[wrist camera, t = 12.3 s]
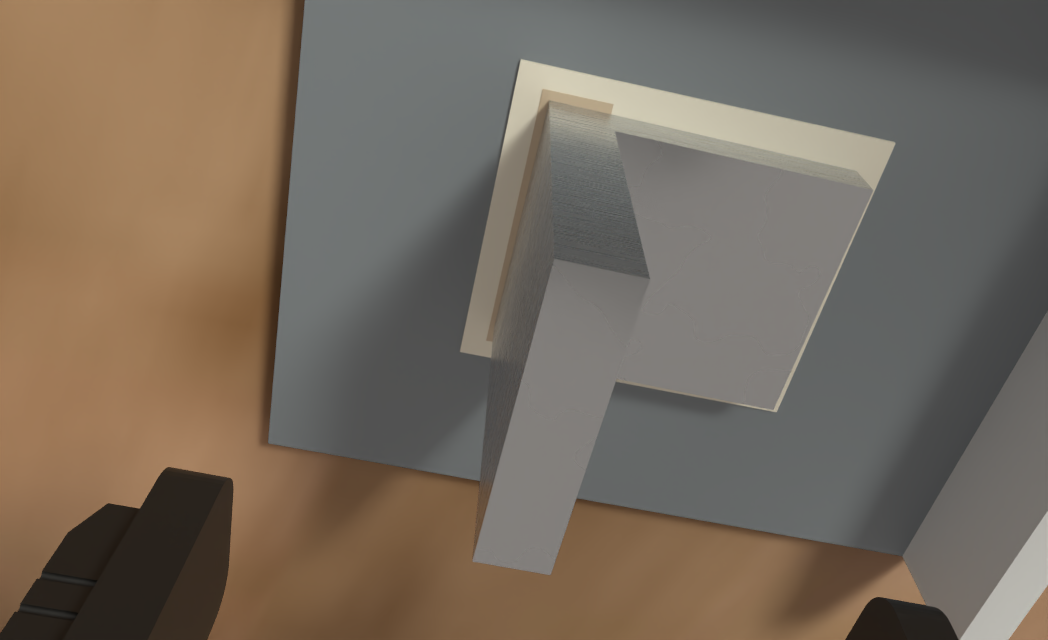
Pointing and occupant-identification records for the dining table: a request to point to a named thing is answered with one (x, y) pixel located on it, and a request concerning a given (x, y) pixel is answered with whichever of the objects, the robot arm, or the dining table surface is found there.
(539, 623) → the dining table surface
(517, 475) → the angle bracket
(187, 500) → the robot arm
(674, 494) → the corner arena
